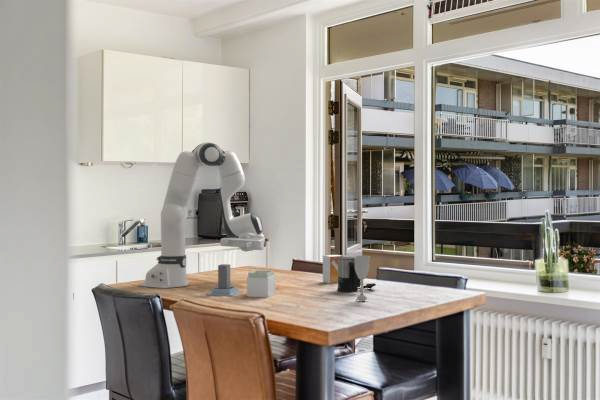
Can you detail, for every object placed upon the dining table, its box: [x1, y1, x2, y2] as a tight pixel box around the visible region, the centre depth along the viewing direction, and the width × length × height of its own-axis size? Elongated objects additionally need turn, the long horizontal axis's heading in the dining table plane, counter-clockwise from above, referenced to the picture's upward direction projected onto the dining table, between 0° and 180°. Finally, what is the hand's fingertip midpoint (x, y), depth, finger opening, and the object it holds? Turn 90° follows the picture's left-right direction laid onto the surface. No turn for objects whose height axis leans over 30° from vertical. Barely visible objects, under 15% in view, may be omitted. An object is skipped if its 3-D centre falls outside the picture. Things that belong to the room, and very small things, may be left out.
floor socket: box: [205, 285, 243, 297], centre depth 274 cm, size 12×12×2 cm
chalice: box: [353, 255, 371, 301], centre depth 254 cm, size 7×7×18 cm
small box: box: [322, 254, 344, 284], centre depth 305 cm, size 8×6×13 cm
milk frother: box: [337, 256, 377, 293], centre depth 281 cm, size 14×16×15 cm
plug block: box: [217, 263, 231, 289], centre depth 274 cm, size 4×4×12 cm
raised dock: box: [246, 269, 276, 298], centre depth 269 cm, size 10×10×10 cm
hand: (235, 244), depth 287 cm, fingers open, 8 cm apart
